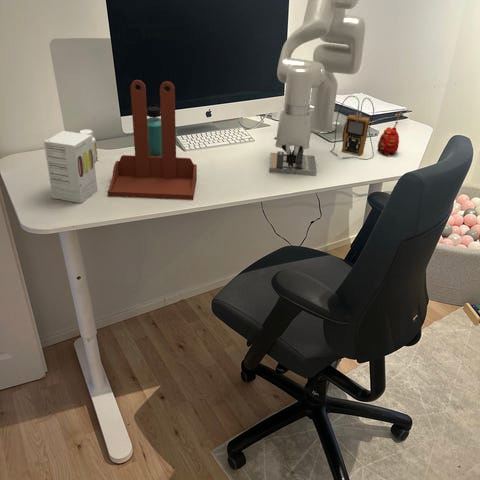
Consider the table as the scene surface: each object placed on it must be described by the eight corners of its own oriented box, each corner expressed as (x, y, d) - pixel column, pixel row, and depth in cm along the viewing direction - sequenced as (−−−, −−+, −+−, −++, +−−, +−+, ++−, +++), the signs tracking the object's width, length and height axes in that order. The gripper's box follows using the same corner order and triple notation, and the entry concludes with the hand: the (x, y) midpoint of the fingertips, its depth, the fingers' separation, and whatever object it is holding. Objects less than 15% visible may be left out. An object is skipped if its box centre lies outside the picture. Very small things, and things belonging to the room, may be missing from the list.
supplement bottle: (89, 155, 171) (85, 127, 166) (101, 159, 168) (98, 131, 163) (76, 160, 167) (73, 132, 162) (89, 164, 164) (85, 135, 159)
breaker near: (276, 164, 167) (277, 150, 164) (282, 164, 167) (283, 151, 164) (276, 167, 165) (277, 153, 162) (282, 167, 164) (283, 154, 162)
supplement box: (81, 204, 142) (73, 146, 133) (51, 198, 144) (42, 141, 135) (98, 189, 150) (92, 134, 141) (70, 184, 152) (62, 129, 143)
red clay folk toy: (372, 149, 187) (380, 109, 179) (389, 148, 189) (398, 107, 181) (384, 157, 180) (392, 116, 173) (401, 156, 182) (410, 114, 175)
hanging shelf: (108, 196, 147) (97, 91, 131) (117, 177, 158) (108, 77, 142) (193, 200, 147) (192, 95, 131) (196, 180, 158) (196, 82, 143)
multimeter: (324, 156, 179) (332, 99, 168) (334, 147, 187) (342, 92, 176) (365, 166, 173) (376, 107, 163) (373, 156, 181) (384, 100, 171)
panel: (270, 156, 176) (270, 152, 176) (314, 160, 176) (314, 155, 175) (269, 172, 165) (269, 167, 165) (316, 175, 165) (316, 171, 164)
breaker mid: (295, 159, 171) (297, 146, 168) (301, 160, 171) (303, 146, 168) (296, 162, 169) (297, 149, 166) (302, 162, 168) (303, 149, 166)
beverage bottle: (171, 169, 164) (169, 107, 154) (158, 176, 159) (155, 113, 149) (155, 164, 167) (152, 103, 156) (141, 171, 162) (137, 108, 151)
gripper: (320, 106, 158) (313, 161, 168) (271, 103, 159) (267, 158, 169) (322, 114, 152) (314, 171, 162) (271, 111, 152) (266, 168, 162)
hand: (290, 164), depth 165 cm, fingers closed
